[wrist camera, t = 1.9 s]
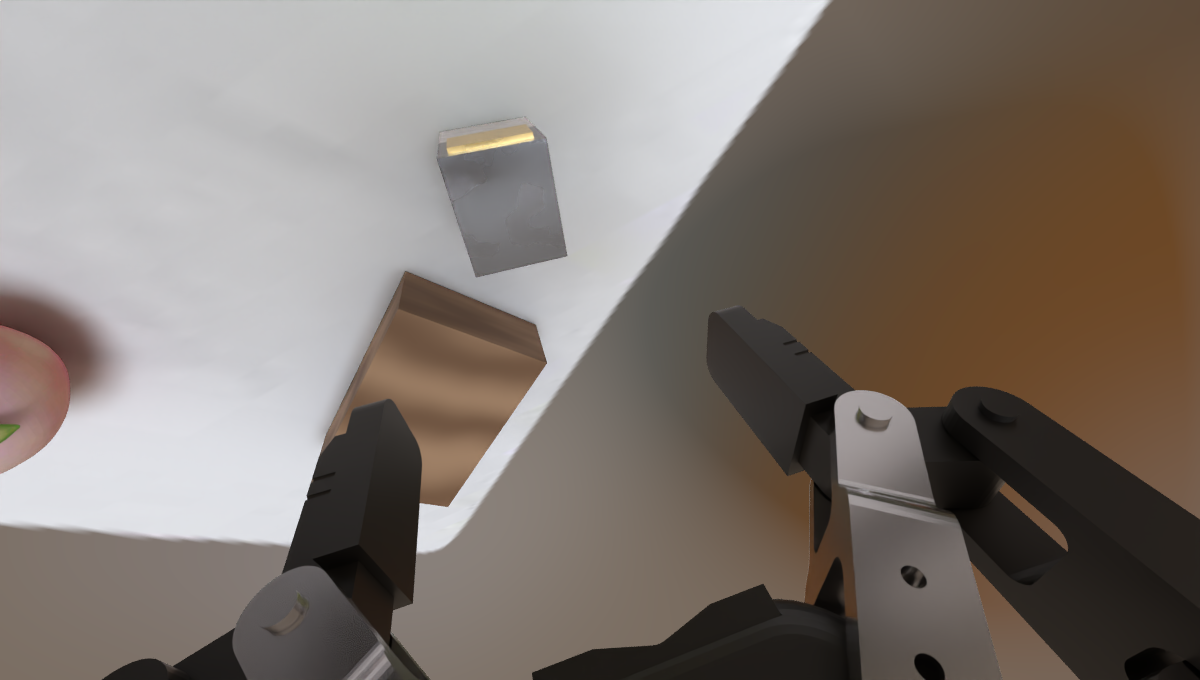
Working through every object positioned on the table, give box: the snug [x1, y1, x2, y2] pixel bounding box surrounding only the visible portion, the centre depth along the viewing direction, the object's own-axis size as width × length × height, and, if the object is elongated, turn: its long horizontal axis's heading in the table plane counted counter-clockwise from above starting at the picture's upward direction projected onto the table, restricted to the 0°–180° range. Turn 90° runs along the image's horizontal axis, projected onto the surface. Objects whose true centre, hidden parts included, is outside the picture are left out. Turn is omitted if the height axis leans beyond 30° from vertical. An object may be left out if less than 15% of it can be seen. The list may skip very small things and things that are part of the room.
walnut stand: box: [311, 271, 547, 507], centre depth 32 cm, size 16×10×5 cm, turn 145°
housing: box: [437, 117, 567, 277], centre depth 24 cm, size 5×6×7 cm
